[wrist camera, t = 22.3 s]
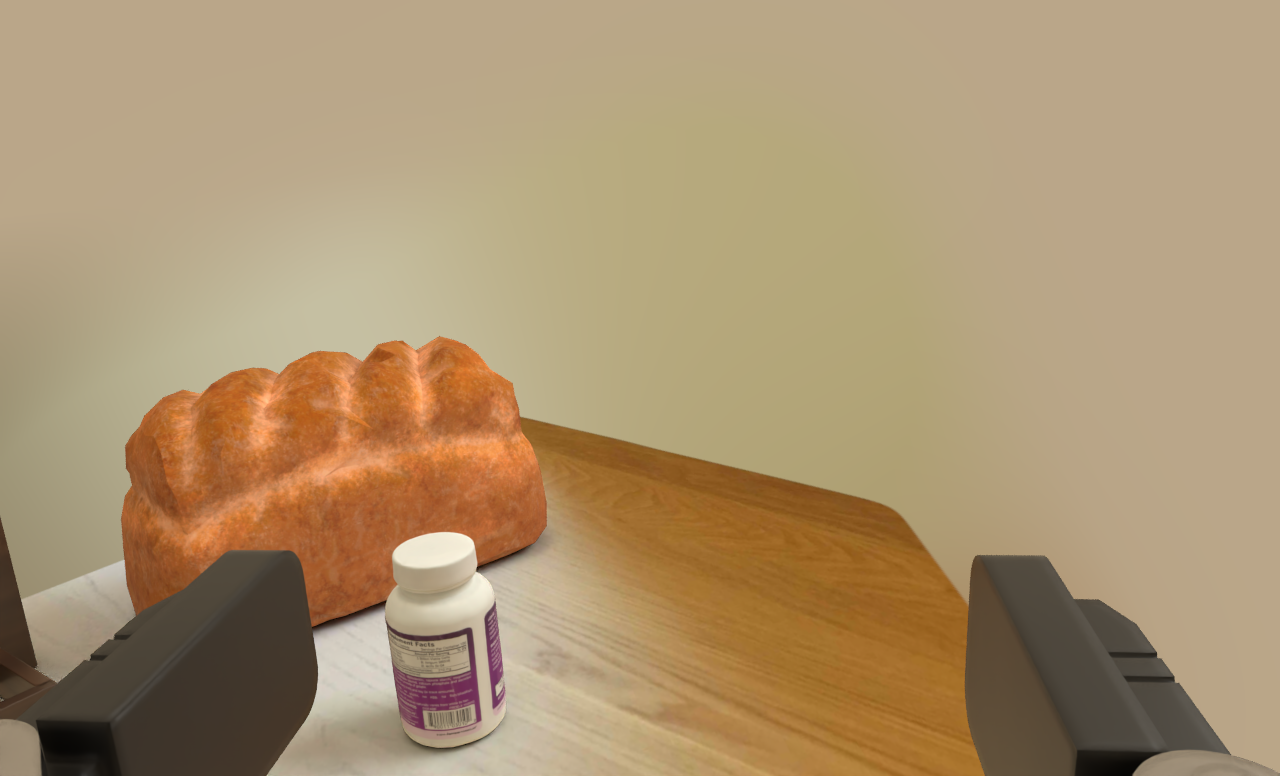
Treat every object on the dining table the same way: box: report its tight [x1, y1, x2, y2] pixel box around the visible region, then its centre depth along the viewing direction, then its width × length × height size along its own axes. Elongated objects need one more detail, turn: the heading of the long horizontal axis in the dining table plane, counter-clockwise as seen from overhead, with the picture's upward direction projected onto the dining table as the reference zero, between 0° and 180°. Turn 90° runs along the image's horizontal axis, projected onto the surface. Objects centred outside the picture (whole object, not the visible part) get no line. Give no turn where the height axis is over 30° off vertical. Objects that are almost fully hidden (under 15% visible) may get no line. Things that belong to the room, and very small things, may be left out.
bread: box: [121, 336, 547, 627], centre depth 66 cm, size 14×26×16 cm, turn 129°
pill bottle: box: [385, 532, 506, 748], centre depth 50 cm, size 5×5×10 cm
